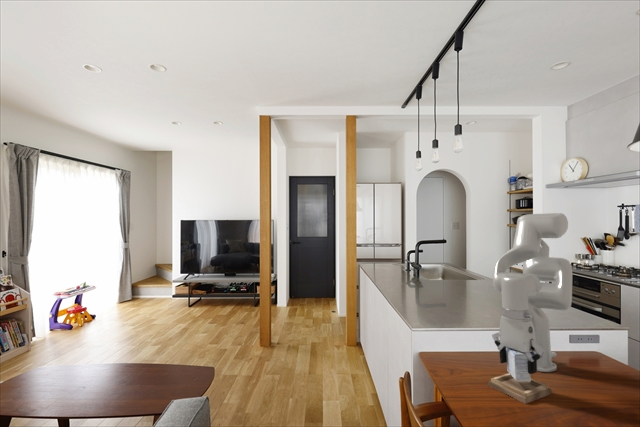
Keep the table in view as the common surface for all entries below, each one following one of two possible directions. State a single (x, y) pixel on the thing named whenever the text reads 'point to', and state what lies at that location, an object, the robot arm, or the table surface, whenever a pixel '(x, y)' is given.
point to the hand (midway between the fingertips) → (517, 367)
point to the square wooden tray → (519, 388)
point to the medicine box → (517, 365)
